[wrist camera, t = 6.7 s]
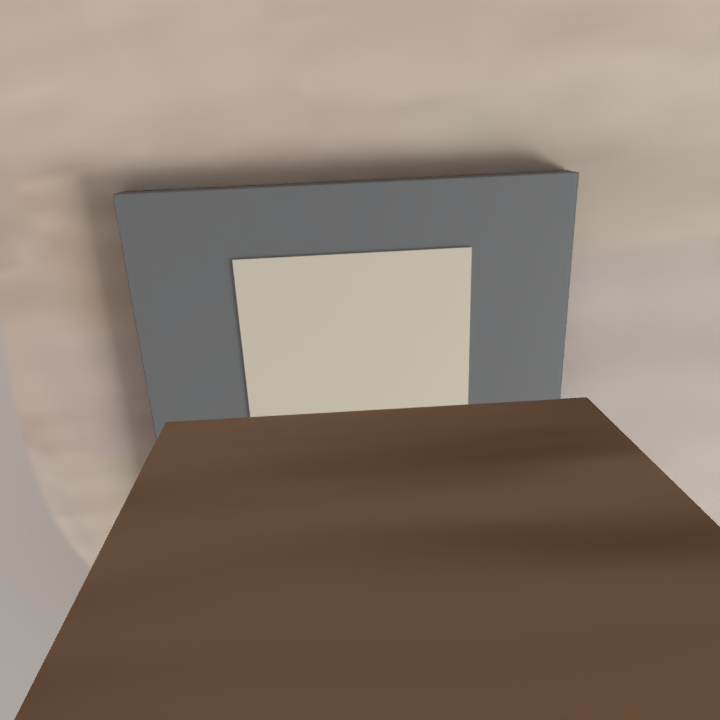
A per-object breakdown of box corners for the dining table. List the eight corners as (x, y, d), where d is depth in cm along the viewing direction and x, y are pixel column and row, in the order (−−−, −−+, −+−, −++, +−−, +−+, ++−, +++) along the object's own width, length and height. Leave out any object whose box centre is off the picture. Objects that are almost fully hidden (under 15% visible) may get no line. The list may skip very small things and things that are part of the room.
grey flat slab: (122, 191, 25) (111, 195, 23) (567, 170, 25) (579, 172, 24) (177, 511, 30) (171, 527, 29) (543, 485, 31) (552, 499, 29)
